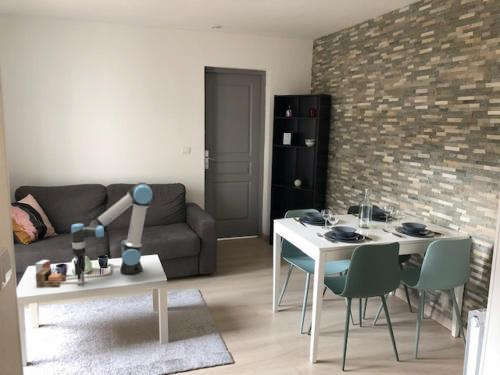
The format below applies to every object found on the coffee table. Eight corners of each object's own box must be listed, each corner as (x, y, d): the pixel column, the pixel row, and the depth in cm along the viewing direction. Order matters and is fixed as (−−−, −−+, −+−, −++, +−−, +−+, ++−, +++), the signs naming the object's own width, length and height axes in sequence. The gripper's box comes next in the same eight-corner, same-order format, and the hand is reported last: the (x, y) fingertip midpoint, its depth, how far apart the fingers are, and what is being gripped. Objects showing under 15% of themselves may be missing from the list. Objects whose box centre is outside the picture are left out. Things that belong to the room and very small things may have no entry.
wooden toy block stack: (66, 280, 275) (65, 267, 274) (58, 287, 265) (57, 274, 263) (44, 280, 275) (43, 267, 274) (36, 287, 264) (35, 274, 263)
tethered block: (84, 281, 273) (83, 267, 272) (81, 285, 267) (80, 270, 266) (52, 282, 272) (51, 267, 271) (49, 285, 266) (47, 271, 265)
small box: (43, 278, 278) (42, 263, 276) (36, 278, 279) (34, 263, 277) (51, 274, 286) (50, 260, 284) (44, 273, 287) (43, 259, 285)
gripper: (77, 243, 274) (80, 277, 278) (67, 251, 258) (70, 287, 262) (89, 243, 274) (91, 277, 278) (79, 251, 258) (82, 287, 262)
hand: (81, 282), depth 270 cm, fingers closed on tethered block, 3 cm apart
